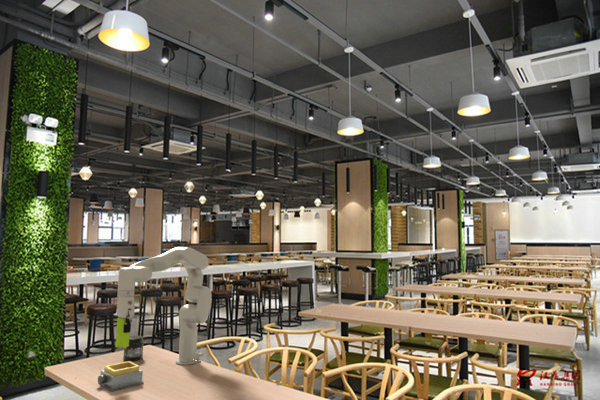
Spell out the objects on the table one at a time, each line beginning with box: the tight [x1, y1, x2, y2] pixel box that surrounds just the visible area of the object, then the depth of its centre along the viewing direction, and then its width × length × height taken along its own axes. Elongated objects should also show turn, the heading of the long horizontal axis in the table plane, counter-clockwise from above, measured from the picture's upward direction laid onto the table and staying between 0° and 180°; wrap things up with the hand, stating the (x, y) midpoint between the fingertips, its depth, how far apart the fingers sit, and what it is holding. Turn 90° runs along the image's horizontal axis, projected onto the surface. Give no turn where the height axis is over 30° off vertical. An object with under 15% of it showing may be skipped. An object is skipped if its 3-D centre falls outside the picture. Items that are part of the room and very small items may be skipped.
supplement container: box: [123, 335, 144, 362], centre depth 237 cm, size 10×10×12 cm
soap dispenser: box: [115, 316, 131, 349], centre depth 198 cm, size 6×7×20 cm
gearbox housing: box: [97, 361, 144, 392], centre depth 195 cm, size 17×15×8 cm
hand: (123, 331), depth 198 cm, fingers closed on soap dispenser, 6 cm apart
